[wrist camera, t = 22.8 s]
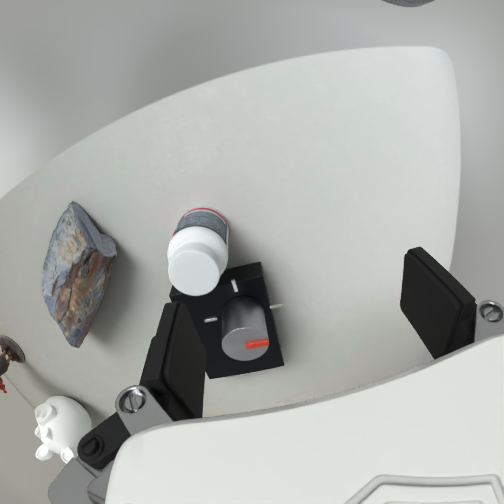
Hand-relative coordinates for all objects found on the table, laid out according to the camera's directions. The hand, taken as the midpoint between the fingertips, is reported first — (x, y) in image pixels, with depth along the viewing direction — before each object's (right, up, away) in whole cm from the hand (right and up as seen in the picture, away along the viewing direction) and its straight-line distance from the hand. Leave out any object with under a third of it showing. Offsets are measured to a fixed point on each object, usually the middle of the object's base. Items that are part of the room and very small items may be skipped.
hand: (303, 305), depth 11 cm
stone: (-23, 0, +19) cm, 30 cm away
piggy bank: (-38, -28, +31) cm, 57 cm away
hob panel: (-5, -6, +23) cm, 24 cm away
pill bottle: (-7, +4, +18) cm, 20 cm away
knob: (-3, -4, +19) cm, 20 cm away
